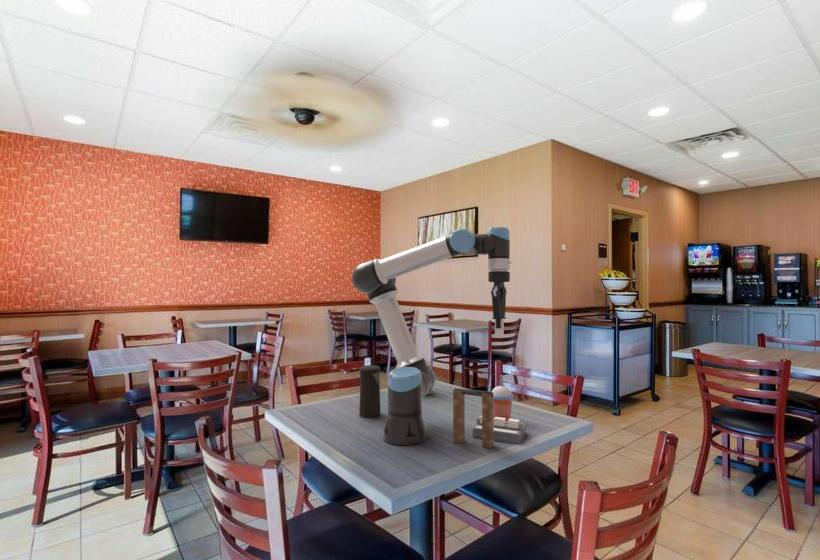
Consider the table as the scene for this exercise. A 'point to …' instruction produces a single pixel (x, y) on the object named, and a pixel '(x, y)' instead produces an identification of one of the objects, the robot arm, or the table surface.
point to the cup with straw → (502, 401)
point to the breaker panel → (503, 432)
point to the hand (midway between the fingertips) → (499, 337)
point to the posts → (460, 419)
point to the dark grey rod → (473, 392)
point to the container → (369, 391)
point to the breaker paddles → (504, 422)
